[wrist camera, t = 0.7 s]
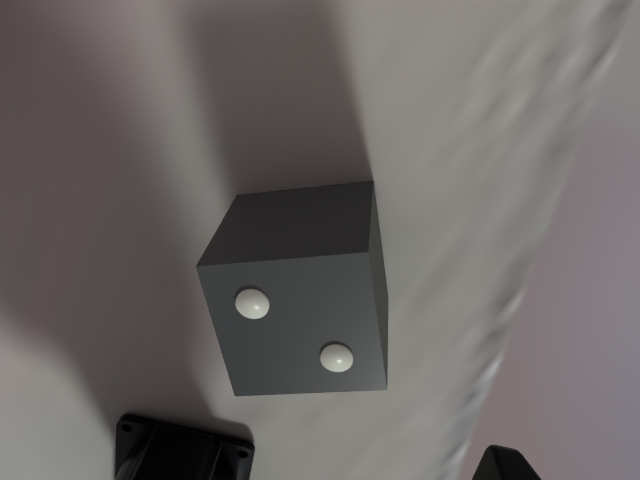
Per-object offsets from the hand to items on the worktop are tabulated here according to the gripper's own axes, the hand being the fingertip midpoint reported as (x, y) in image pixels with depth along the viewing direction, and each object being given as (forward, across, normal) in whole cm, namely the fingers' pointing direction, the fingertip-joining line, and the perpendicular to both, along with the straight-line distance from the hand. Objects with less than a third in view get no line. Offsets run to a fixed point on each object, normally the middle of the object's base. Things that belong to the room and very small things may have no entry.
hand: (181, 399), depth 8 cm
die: (+13, -1, +4) cm, 14 cm away
